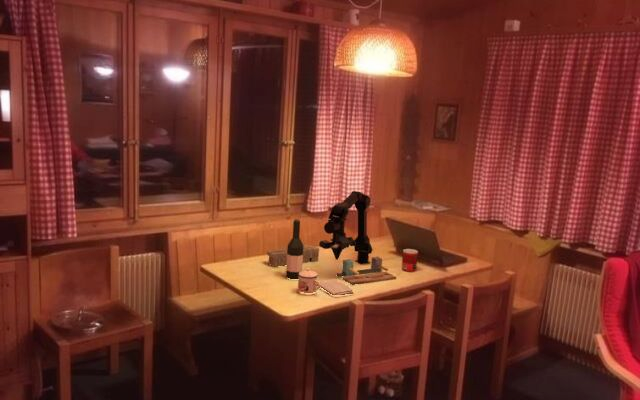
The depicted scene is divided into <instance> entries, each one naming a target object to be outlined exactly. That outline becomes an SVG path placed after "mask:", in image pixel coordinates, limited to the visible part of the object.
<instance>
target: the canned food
mask: <svg viewBox="0 0 640 400" xmlns="http://www.w3.org/2000/svg"><path fill="white" fill-rule="evenodd" d="M418 256H419V251H418V250H417V249H412V248H405V249H403V250H402V260H401V270H402V271H403V272H406V273H415V272H416V271H417V267H418Z"/></svg>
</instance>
